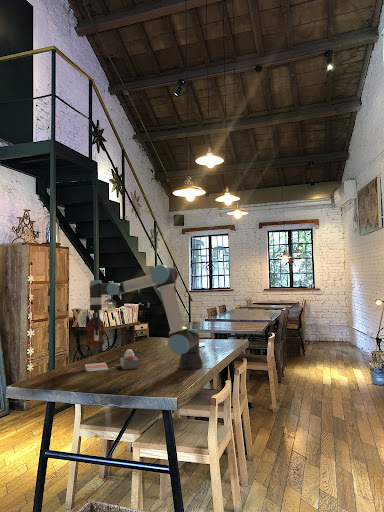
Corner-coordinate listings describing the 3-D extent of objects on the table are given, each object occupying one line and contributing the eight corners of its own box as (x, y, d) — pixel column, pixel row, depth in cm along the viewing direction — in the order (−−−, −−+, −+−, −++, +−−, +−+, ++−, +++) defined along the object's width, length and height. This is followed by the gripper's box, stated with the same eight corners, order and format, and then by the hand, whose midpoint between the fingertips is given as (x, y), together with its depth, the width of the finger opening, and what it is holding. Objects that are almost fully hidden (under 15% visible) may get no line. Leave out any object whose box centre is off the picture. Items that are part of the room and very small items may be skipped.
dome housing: (139, 367, 235) (139, 355, 236) (123, 369, 232) (123, 357, 232) (136, 364, 246) (135, 352, 247) (120, 365, 243) (120, 354, 244)
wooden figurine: (92, 346, 235) (92, 317, 237) (85, 346, 239) (85, 317, 240) (106, 344, 245) (106, 316, 247) (99, 343, 249) (99, 316, 250)
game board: (108, 369, 233) (108, 368, 233) (86, 371, 229) (86, 371, 229) (105, 362, 254) (105, 362, 254) (85, 364, 250) (85, 364, 250)
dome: (135, 358, 239) (135, 349, 239) (124, 359, 237) (124, 350, 237) (133, 356, 245) (133, 348, 245) (123, 357, 243) (123, 349, 243)
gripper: (88, 303, 254) (89, 337, 252) (90, 305, 233) (90, 342, 231) (100, 303, 256) (100, 337, 254) (103, 304, 236) (103, 341, 234)
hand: (96, 339), depth 243 cm, fingers closed on wooden figurine, 9 cm apart
